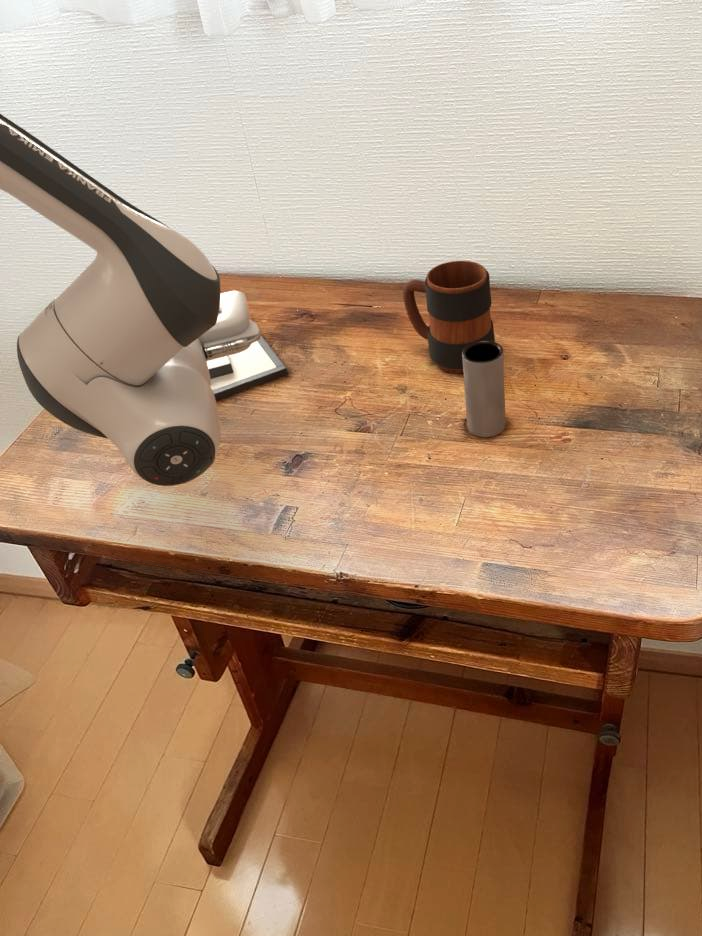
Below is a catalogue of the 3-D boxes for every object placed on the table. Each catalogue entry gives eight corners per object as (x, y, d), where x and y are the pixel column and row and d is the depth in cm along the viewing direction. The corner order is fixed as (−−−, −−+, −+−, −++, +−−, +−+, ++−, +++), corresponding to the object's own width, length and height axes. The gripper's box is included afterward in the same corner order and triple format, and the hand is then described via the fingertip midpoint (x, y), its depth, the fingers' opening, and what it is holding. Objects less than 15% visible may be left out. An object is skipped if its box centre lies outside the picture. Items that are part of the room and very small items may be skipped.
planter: (472, 413, 101) (467, 338, 94) (509, 416, 100) (506, 341, 92) (463, 436, 98) (457, 361, 91) (501, 439, 97) (498, 363, 89)
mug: (423, 331, 115) (414, 251, 107) (505, 344, 111) (502, 261, 103) (396, 365, 110) (385, 284, 102) (480, 380, 105) (476, 296, 97)
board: (143, 426, 106) (141, 420, 106) (114, 363, 119) (111, 357, 118) (288, 374, 111) (286, 368, 111) (245, 318, 123) (243, 312, 123)
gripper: (256, 313, 82) (236, 255, 92) (46, 364, 79) (48, 298, 89) (270, 368, 86) (249, 307, 96) (71, 417, 83) (71, 349, 93)
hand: (151, 303), depth 92 cm, fingers open, 8 cm apart
